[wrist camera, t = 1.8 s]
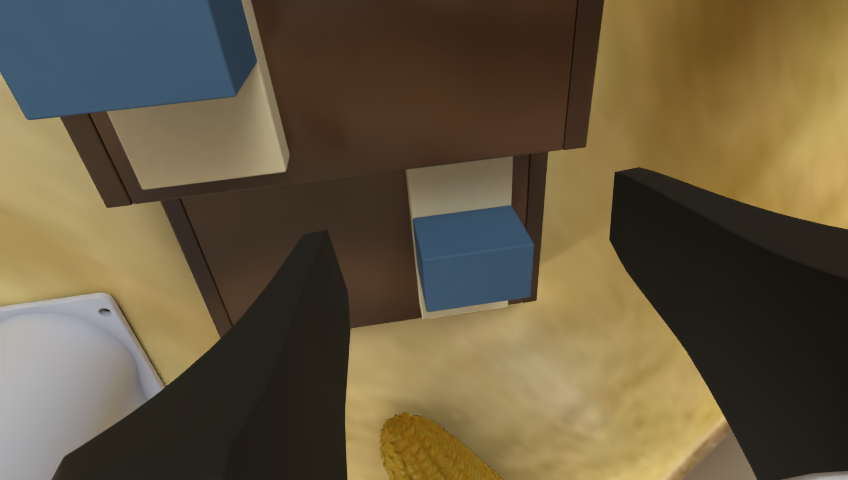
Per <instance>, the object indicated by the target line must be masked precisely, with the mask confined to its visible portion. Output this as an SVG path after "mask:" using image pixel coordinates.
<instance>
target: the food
mask: <svg viewBox="0 0 848 480" xmlns="http://www.w3.org/2000/svg"><path fill="white" fill-rule="evenodd" d="M381 433H382V434H381V441H380V443H381V445H382V446H381V447H380V451H381V459H384V462H383V465H384V467H385V469H386V471H387V473H388V474H389V476H390V479H391V480H503V479H502V478H501V477H500V476H499V475H498V474H497V473H496V472H495V471H493V470H491V469H490V466H487V465H486V464H485V463H483V462H482V461H480V460H479V459H478V457H477V456H475V455H474V454H473V452H472V451H470V450H469V449H468V448H467V447H466V446H465V445H464V444H463V443H462V442H461V441H459V440H458V439H457V438H456V437H454V436H452V435H451V434H450V433H448V432H447V431H446V430H445V429H444V428H442V427H441V426H440V425H438V424H436V423H435V422H433V421H431V420H428V419H426V418H423V417H420V416H417V415H415V416H412V415H410V414H408V413H406V412H404V413H402V414H401V415H400V416H397V415H395V416H394V417H393V418H391V419H388V420H386V422H385V424H384V425H383V428H382V429H381Z"/></svg>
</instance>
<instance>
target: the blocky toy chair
mask: <svg viewBox="0 0 848 480" xmlns="http://www.w3.org/2000/svg"><path fill="white" fill-rule="evenodd" d="M512 170H513V156H509V157H501V158H493V159H486V160H478V161H470V162H462V163H454V164H446V165H438V166H430V167H423V168H415V169H407V170H406V179H407V188H408V198H409V208H410V217H411V227H412V236H413V246H414V255H415V265H416V274H417V284H418V293H419V303H420V309H421V314H422V319H423V320H425V319H432V318H439V317H445V316H452V315H459V314H465V313H472V312H479V311H485V310H492V309H499V308H505V307H508V300H514V299H521V298H528V297H530V296H531V285H532V270H533V255H534V243H533V242H532V240H531V238H530V236H529V235H528V233H527V231H526V229H525V228H524V226H523V224H522V223H521V221H520V219H519V217H518V216H517V214H516V212H515V211H514V209H513V207H512V206H511V200H512Z"/></svg>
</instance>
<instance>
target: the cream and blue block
mask: <svg viewBox="0 0 848 480" xmlns="http://www.w3.org/2000/svg"><path fill="white" fill-rule="evenodd" d="M0 72H1V74H2V76H3V78H4V79H5V81H6V83H7V85H8V87H9V88H10V90H11V92H12V94H13V96H14V97H15V99H16V101H17V103H18V105H19V106H20V108H21V110H22V112H23V114H24V115H25V117H26V119H27V120H35V119H44V118H53V117H62V116H71V115H79V114H88V113H97V112H106V111H107V113H108V115H109V117H110V120H111V122H112V124H113V126H114V128H115V131H116V133H117V135H118V137H119V139H120V142H121V144H122V146H123V148H124V150H125V153H126V155H127V157H128V159H129V161H130V163H131V166H132V168H133V170H134V172H135V174H136V177H137V179H138V181H139V183H140V185H141V188H142V189H144V190H146V189H154V188H162V187H170V186H178V185H186V184H194V183H202V182H210V181H218V180H226V179H234V178H242V177H250V176H258V175H266V174H274V173H282V172H286V169H287V165H288V161H289V156H290V154H289V150H288V146H287V142H286V138H285V134H284V130H283V126H282V122H281V118H280V114H279V110H278V106H277V102H276V98H275V94H274V90H273V86H272V82H271V78H270V74H269V70H268V66H267V62H266V58H265V54H264V50H263V46H262V42H261V38H260V34H259V30H258V26H257V22H256V18H255V14H254V10H253V6H252V2H251V0H0Z"/></svg>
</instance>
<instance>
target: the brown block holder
mask: <svg viewBox="0 0 848 480" xmlns="http://www.w3.org/2000/svg"><path fill="white" fill-rule="evenodd" d="M251 2H252V6H253V10H254V14H255V18H256V22H257V26H258V30H259V34H260V38H261V42H262V46H263V50H264V54H265V58H266V62H267V66H268V70H269V74H270V78H271V82H272V86H273V90H274V94H275V98H276V102H277V106H278V110H279V114H280V118H281V122H282V126H283V130H284V134H285V138H286V142H287V146H288V150H289V154H290V156H289V161H288V165H287V169H286V172H282V173H274V174H266V175H258V176H250V177H242V178H234V179H226V180H218V181H210V182H202V183H194V184H186V185H178V186H170V187H162V188H154V189H146V190H144V189H142V188H141V185H140V183H139V181H138V179H137V177H136V174H135V172H134V170H133V168H132V166H131V163H130V161H129V159H128V157H127V155H126V153H125V150H124V148H123V146H122V144H121V142H120V139H119V137H118V135H117V133H116V131H115V128H114V126H113V124H112V122H111V120H110V117H109V115H108V113H107V111H106V112H97V113H88V114H79V115H71V116H62V117H60V118H61V120H62V122H63V124H64V126H65V128H66V129H67V131H68V133H69V135H70V137H71V139H72V141H73V143H74V145H75V147H76V149H77V151H78V153H79V155H80V157H81V159H82V160H83V162H84V164H85V166H86V168H87V170H88V172H89V174H90V176H91V178H92V180H93V182H94V184H95V186H96V188H97V190H98V191H99V193H100V195H101V197H102V199H103V201H104V203H105V205H106V207H107V208H111V207H119V206H127V205H132V204H139V203H147V202H155V201H161V203H162V205H163V208H164V210H165V212H166V214H167V217H168V219H169V221H170V224H171V226H172V228H173V230H174V233H175V235H176V237H177V240H178V242H179V244H180V246H181V249H182V251H183V253H184V255H185V258H186V260H187V262H188V265H189V267H190V269H191V271H192V274H193V276H194V278H195V281H196V283H197V285H198V287H199V290H200V292H201V294H202V296H203V299H204V301H205V303H206V306H207V308H208V310H209V312H210V315H211V317H212V319H213V322H214V324H215V326H216V328H217V331H218V333H219V335H220V337H221V338H222V337H223V336H224V335H225V334H226V333H227V332H228V331H229V330H230V329H231V328H232V327H233V325H234V324H235V323H236V322H237V321H238V320H239V319H240V318H241V317H242V316H243V314H244V313H245V312H246V311H247V310H248V308H249V307H250V306H251V305H252V303H253V302H254V301H255V300H256V299H257V297H258V296H259V295H260V294H261V292H262V291H263V290H264V289H265V287H266V286H267V285H268V283H269V282H270V281H271V279H272V278H273V277H274V275H275V274H276V272H277V271H278V270H279V268H280V267H281V265H282V264H283V262H284V261H285V260H286V258H287V257H288V255H289V254H290V252H291V251H292V249H293V248H294V247H295V245H296V244H297V242H298V241H299V239H300V238H301V237H302V235H303V234H308V233H313V232H318V231H323V230H328V233H329V236H330V239H331V242H332V245H333V248H334V251H335V254H336V257H337V260H338V263H339V266H340V269H341V272H342V275H343V278H344V281H345V284H346V287H347V290H348V297H349V310H350V328H356V327H363V326H370V325H376V324H383V323H390V322H396V321H403V320H410V319H416V318H422V314H421V309H420V303H419V293H418V284H417V274H416V265H415V255H414V246H413V236H412V227H411V217H410V208H409V198H408V188H407V179H406V170H407V169H415V168H423V167H430V166H438V165H446V164H454V163H462V162H470V161H478V160H486V159H493V158H501V157H509V156H513V170H512V200H511V206H512V207H513V209H514V211H515V212H516V214H517V216H518V217H519V219H520V221H521V223H522V224H523V226H524V228H525V229H526V231H527V233H528V235H529V236H530V238H531V240H532V242H533V243H534V255H533V270H532V285H531V296H530V297H528V298H521V299H514V300H508V305H510V304H517V303H521V302H522V303H524V302H531V301H536V300H537V287H538V274H539V261H540V248H541V236H542V223H543V210H544V197H545V184H546V171H547V158H548V152H549V151H557V150H562V149H564V150H568V149H576V148H584V147H586V141H587V133H588V125H589V117H590V109H591V101H592V93H593V85H594V77H595V69H596V61H597V53H598V45H599V37H600V29H601V21H602V13H603V5H604V0H251Z"/></svg>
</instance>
